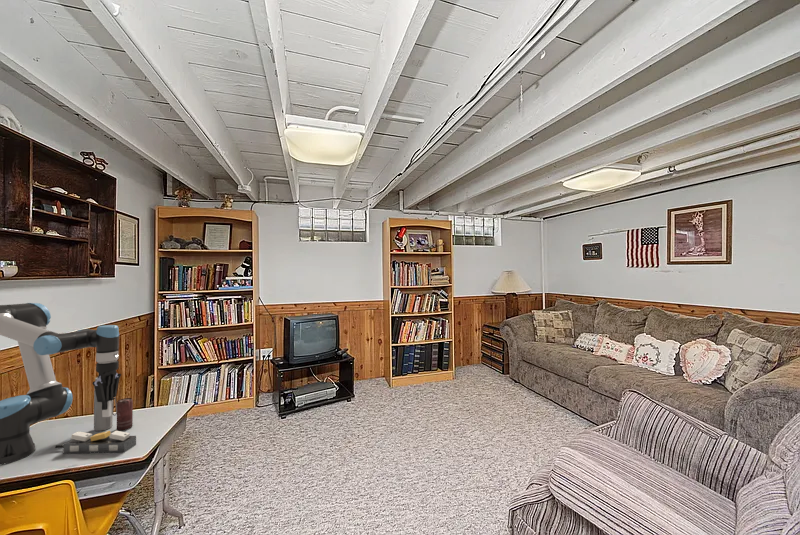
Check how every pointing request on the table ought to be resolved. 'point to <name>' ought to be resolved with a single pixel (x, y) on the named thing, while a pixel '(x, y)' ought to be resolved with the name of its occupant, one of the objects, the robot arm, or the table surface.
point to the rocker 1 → (81, 436)
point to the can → (124, 414)
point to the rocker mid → (100, 436)
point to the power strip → (98, 446)
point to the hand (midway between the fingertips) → (106, 416)
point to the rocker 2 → (119, 435)
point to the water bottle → (100, 421)
